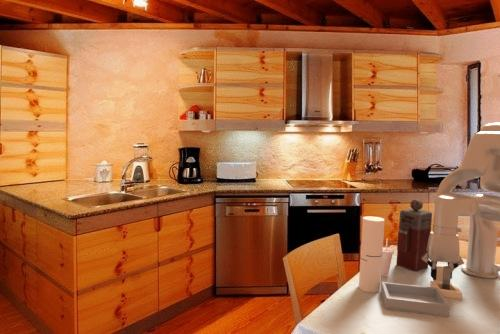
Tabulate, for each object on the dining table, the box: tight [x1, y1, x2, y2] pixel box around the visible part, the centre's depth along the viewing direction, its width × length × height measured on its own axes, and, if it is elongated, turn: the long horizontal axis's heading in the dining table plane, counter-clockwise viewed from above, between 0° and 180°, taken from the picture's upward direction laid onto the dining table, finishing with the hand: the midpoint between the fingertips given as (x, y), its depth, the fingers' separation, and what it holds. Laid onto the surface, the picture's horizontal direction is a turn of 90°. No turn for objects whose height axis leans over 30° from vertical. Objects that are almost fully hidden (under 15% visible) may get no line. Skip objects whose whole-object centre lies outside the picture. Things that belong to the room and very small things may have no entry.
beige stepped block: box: [429, 263, 463, 300], centre depth 130 cm, size 8×12×7 cm, turn 167°
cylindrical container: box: [358, 215, 385, 293], centre depth 129 cm, size 7×7×25 cm
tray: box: [380, 281, 451, 317], centre depth 119 cm, size 18×13×4 cm
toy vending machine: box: [396, 198, 433, 273], centre depth 151 cm, size 9×11×28 cm
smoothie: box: [381, 238, 394, 276], centre depth 143 cm, size 6×6×14 cm
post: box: [442, 265, 452, 290], centre depth 128 cm, size 2×2×9 cm
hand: (440, 279), depth 134 cm, fingers closed on beige stepped block, 4 cm apart
